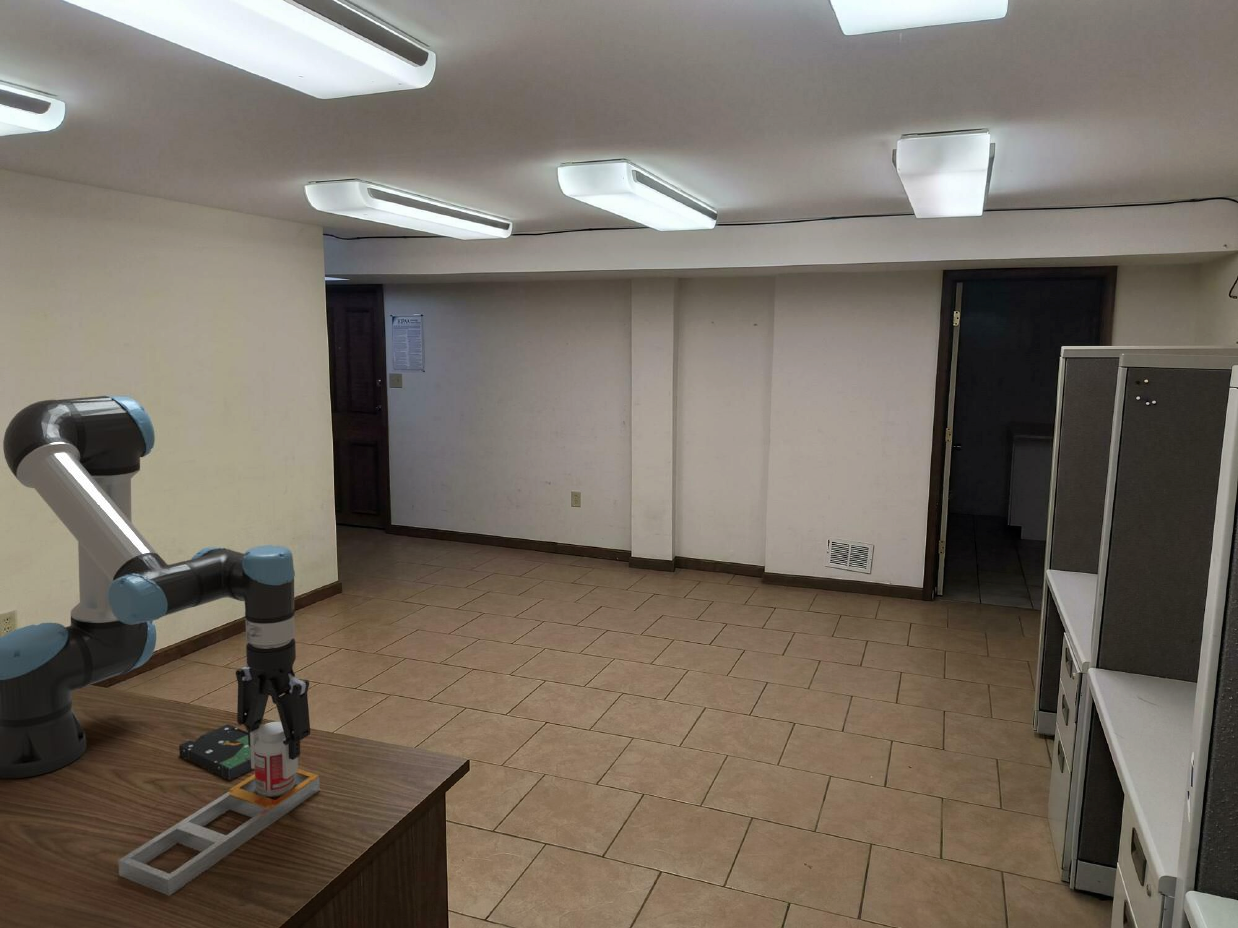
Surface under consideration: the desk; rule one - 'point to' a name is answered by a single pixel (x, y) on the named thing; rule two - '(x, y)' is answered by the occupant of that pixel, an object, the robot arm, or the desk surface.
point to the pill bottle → (270, 762)
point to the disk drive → (220, 751)
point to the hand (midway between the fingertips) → (274, 769)
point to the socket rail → (213, 833)
